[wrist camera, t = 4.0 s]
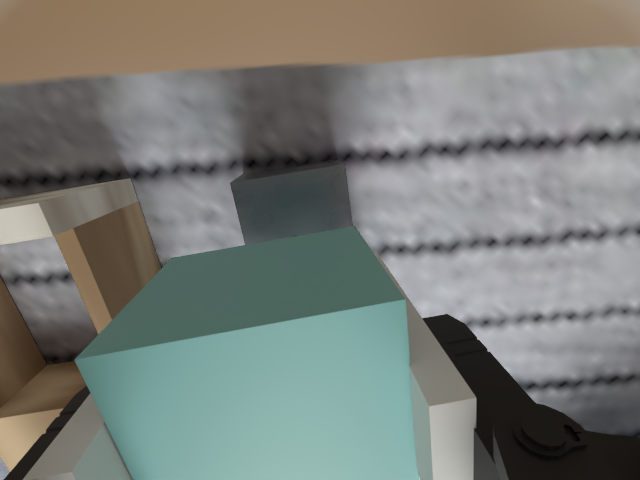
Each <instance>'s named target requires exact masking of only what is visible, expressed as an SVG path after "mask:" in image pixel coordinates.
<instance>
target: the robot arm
mask: <svg viewBox="0 0 640 480" xmlns="http://www.w3.org/2000/svg"><path fill="white" fill-rule="evenodd" d="M373 253H374V255H375V256H376V258H377V259H378V260H379V262H380V263H381V265H382V266H383V268H384V269H385V270H386V272H387V273H388V275H389V276H390V278H391V279H392V281H393V282H394V283H395V285H396V286H397V288H398V289H399V291H400V292H401V293H402V295H403V296H404V298H405V299H406V312H407V325H408V339H409V352H410V365H409V374H410V387H411V399H412V412H413V425H414V438H415V451H416V464H417V471H418V474H419V477H420V480H640V438H636V437H627V436H618V435H609V434H601V433H596V432H590V431H585V430H584V429H583V428H582V427H581V425H579V424H578V423H576V422H575V421H574V420H572V419H571V418H569V417H568V416H566V415H565V414H564V413H562V412H559V411H557V410H555V409H552V408H550V407H547V406H545V405H541V404H536V403H535V402H534V401H533V400H532V399H531V398H530V397H529V396H528V394H527V393H526V392H525V391H524V390H523V389H522V388H521V387H520V385H519V384H518V383H517V382H516V381H515V380H514V379H513V378H512V376H511V375H510V374H509V373H508V372H507V371H506V370H505V369H504V367H503V366H502V365H501V364H500V363H499V362H498V361H497V360H496V358H495V357H494V356H493V355H492V354H491V353H490V352H488V351H487V348H486V347H485V346H484V345H483V344H482V343H481V342H480V340H477V337H476V336H475V335H474V334H473V333H472V331H471V330H470V329H469V328H468V327H467V326H466V325H465V324H464V323H462V322H460V321H459V320H457V319H455V318H453V317H451V316H450V315H448V314H445V315H439V316H434V317H428V318H423V319H422V318H421V316H420V315H419V313H418V312H417V310H416V309H415V307H414V306H413V304H412V303H411V302H410V300H409V299H408V297H407V296H406V294H405V293H404V291H403V290H402V288H401V287H400V286H399V284H398V283H397V281H396V280H395V278H394V277H393V275H392V274H391V272H390V271H389V269H388V268H387V267H386V265H385V264H384V262H383V261H382V259H381V258H380V256H379V255H378V253H377V252H376V251H375V252H373ZM4 480H133V478H132V476H131V474H130V472H129V470H128V468H127V466H126V464H125V462H124V460H123V458H122V456H121V454H120V452H119V450H118V448H117V446H116V444H115V442H114V440H113V438H112V436H111V434H110V432H109V430H108V428H107V426H106V424H105V421H104V419H103V417H102V415H101V413H100V411H99V409H98V407H97V405H96V403H95V401H94V399H93V397H92V395H91V393H90V391H89V389H88V387H87V386H85V387H84V388H83V389H82V390H80V391H79V392H78V393H77V394H75V396H74V397H73V398H72V399H71V400H70V402H69V403H68V404H67V405H66V406H65V407H64V409H63V410H62V411H61V412H60V416H59V417H56V418H55V419H54V421H53V422H52V423H51V424H50V425H49V427H48V428H47V429H46V433H45V434H42V435H41V436H40V437H39V438H38V440H37V441H36V442H35V443H34V444H33V446H32V447H31V448H30V449H29V450H28V452H27V453H26V454H25V455H24V456H23V458H22V459H21V460H20V461H19V462H18V463H17V465H16V466H15V467H14V468H13V469H12V471H11V472H10V473H9V474H8V475H7V477H6V478H5V479H4Z"/></svg>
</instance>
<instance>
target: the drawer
mask: <svg viewBox="0 0 640 480" xmlns="http://www.w3.org/2000/svg"><path fill="white" fill-rule="evenodd" d="M53 236H55V239H56V241H57V243H58V245H59V248H60V250H61V252H62V254H63V257H64V259H65V261H66V263H67V265H68V268H69V270H70V272H71V274H72V277H73V279H74V281H75V283H76V286H77V288H78V290H79V292H80V294H81V297H82V299H83V301H84V303H85V306H86V308H87V310H88V312H89V315H90V317H91V319H92V321H93V323H94V326H95V328H96V330H97V332H98V334H99V333H100V332H101V331H102V330H103V329H104V328H105V327H106V326H107V325H108V324H109V323H110V322H111V321H112V320H113V319H114V318H115V317H116V316H117V315H118V314H119V313H120V311H121V310H122V309H123V308H124V307H125V306H126V305H127V304H128V303H129V302H130V301H131V300H132V299H133V298H134V297H135V296H136V295H137V294H138V293H139V292H140V291H141V290H142V289H143V287H144V286H145V285H146V284H147V283H148V282H149V281H150V280H151V279H152V278H153V277H154V276H155V275H156V274H157V273H158V272H159V271H160V270H161V269H162V268H161V265H160V263H159V260H158V257H157V254H156V251H155V248H154V245H153V242H152V239H151V236H150V234H149V231H148V228H147V225H146V222H145V219H144V216H143V213H142V210H141V207H140V205H139V202H138V199H137V196H136V193H135V190H134V187H133V184H132V181H131V178H129V179H123V180H117V181H110V182H104V183H98V184H92V185H86V186H80V187H73V188H67V189H61V190H55V191H49V192H43V193H37V194H30V195H24V196H18V197H12V198H6V199H0V245H3V244H10V243H16V242H22V241H28V240H34V239H41V238H47V237H53ZM85 386H87V385H86V383H85V381H84V379H83V377H82V375H81V373H80V371H79V369H78V366H77V364H76V362H75V361H71V362H64V363H58V364H52V365H47V364H46V362H45V360H44V358H43V356H42V354H41V352H40V350H39V348H38V347H37V345H36V343H35V341H34V339H33V337H32V335H31V333H30V331H29V330H28V328H27V326H26V324H25V322H24V320H23V318H22V316H21V314H20V313H19V311H18V309H17V307H16V305H15V303H14V301H13V299H12V298H11V296H10V294H9V292H8V290H7V288H6V286H5V284H4V282H3V281H2V279H1V277H0V458H1V459H2V461H3V462H4V464H5V465H6V467H7V468H8V470H9V471H10V472H11V471H12V469H13V468H14V467H15V466H16V465H17V463H18V462H19V461H20V460H21V459H22V458H23V456H24V455H25V454H26V453H27V452H28V450H29V449H30V448H31V447H32V446H33V444H34V443H35V442H36V441H37V440H38V438H39V437H40V436H41V435H42V434H45V433H46V429H47V428H48V427H49V425H50V424H51V423H52V422H53V421H54V419H55V418H56V417H59V416H60V412H61V411H62V410H63V409H64V407H65V406H66V405H67V404H68V403H69V402H70V400H71V399H72V398H73V397H74V396H75V394H77V393H78V392H79V391H80V390H82V389H83V388H84V387H85Z"/></svg>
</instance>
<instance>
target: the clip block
mask: <svg viewBox="0 0 640 480" xmlns="http://www.w3.org/2000/svg"><path fill="white" fill-rule="evenodd" d="M75 362H76V364H77V366H78V369H79V371H80V373H81V375H82V377H83V379H84V381H85V383H86V385H87V387H88V389H89V391H90V393H91V395H92V397H93V399H94V401H95V403H96V405H97V407H98V409H99V411H100V413H101V415H102V417H103V419H104V421H105V424H106V426H107V428H108V430H109V432H110V434H111V436H112V438H113V440H114V442H115V444H116V446H117V448H118V450H119V452H120V454H121V456H122V458H123V460H124V462H125V464H126V466H127V468H128V470H129V472H130V474H131V476H132V478H133V480H419V474H418V471H417V464H416V451H415V438H414V425H413V412H412V399H411V387H410V374H409V365H410V352H409V339H408V325H407V312H406V299H405V298H404V296H403V295H402V293H401V292H400V291H399V289H398V288H397V286H396V285H395V283H394V282H393V281H392V279H391V278H390V276H389V275H388V273H387V272H386V270H385V269H384V268H383V266H382V265H381V263H380V262H379V260H378V259H377V258H376V256H375V255H374V253H373V252H372V250H371V249H370V248H369V246H368V245H367V243H366V242H365V240H364V239H363V238H362V236H361V235H360V233H359V232H358V230H357V229H356V227H355V226H353V227H348V228H342V229H336V230H330V231H325V232H319V233H313V234H307V235H302V236H296V237H290V238H284V239H279V240H273V241H267V242H261V243H256V244H250V245H244V246H238V247H233V248H227V249H221V250H215V251H210V252H204V253H198V254H192V255H187V256H181V257H175V258H171V259H170V260H169V261H168V262H167V263H166V264H165V266H164V267H163V268H162V269H161V270H160V271H159V272H158V273H157V274H156V275H155V276H154V277H153V278H152V279H151V280H150V281H149V282H148V283H147V284H146V285H145V286H144V287H143V289H142V290H141V291H140V292H139V293H138V294H137V295H136V296H135V297H134V298H133V299H132V300H131V301H130V302H129V303H128V304H127V305H126V306H125V307H124V308H123V309H122V310H121V311H120V313H119V314H118V315H117V316H116V317H115V318H114V319H113V320H112V321H111V322H110V323H109V324H108V325H107V326H106V327H105V328H104V329H103V330H102V331H101V332H100V333H99V334H98V335H97V337H96V338H95V339H94V340H93V341H92V342H91V343H90V344H89V345H88V346H87V347H86V348H85V349H84V350H83V351H82V352H81V353H80V354H79V355H78V356H77V357H76V358H75Z"/></svg>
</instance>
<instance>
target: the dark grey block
mask: <svg viewBox="0 0 640 480" xmlns="http://www.w3.org/2000/svg"><path fill="white" fill-rule="evenodd" d="M230 184H231V189H232V193H233V197H234V201H235V205H236V209H237V213H238V217H239V221H240V225H241V229H242V233H243V237H244V242H245V245H250V244H256V243H261V242H267V241H273V240H279V239H284V238H290V237H296V236H302V235H307V234H313V233H319V232H325V231H330V230H336V229H342V228H348V227H353V225H352V217H351V209H350V201H349V193H348V185H347V177H346V169H345V164H344V163H343V162H341V161H340V160H339V159H333V160H327V161H321V162H315V163H308V164H302V165H296V166H290V167H284V168H278V169H272V170H265V171H259V172H253V173H247V174H242V175H241V176H240V177H238V178H237V179H235V180H234V181H232V182H231V183H230Z"/></svg>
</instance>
